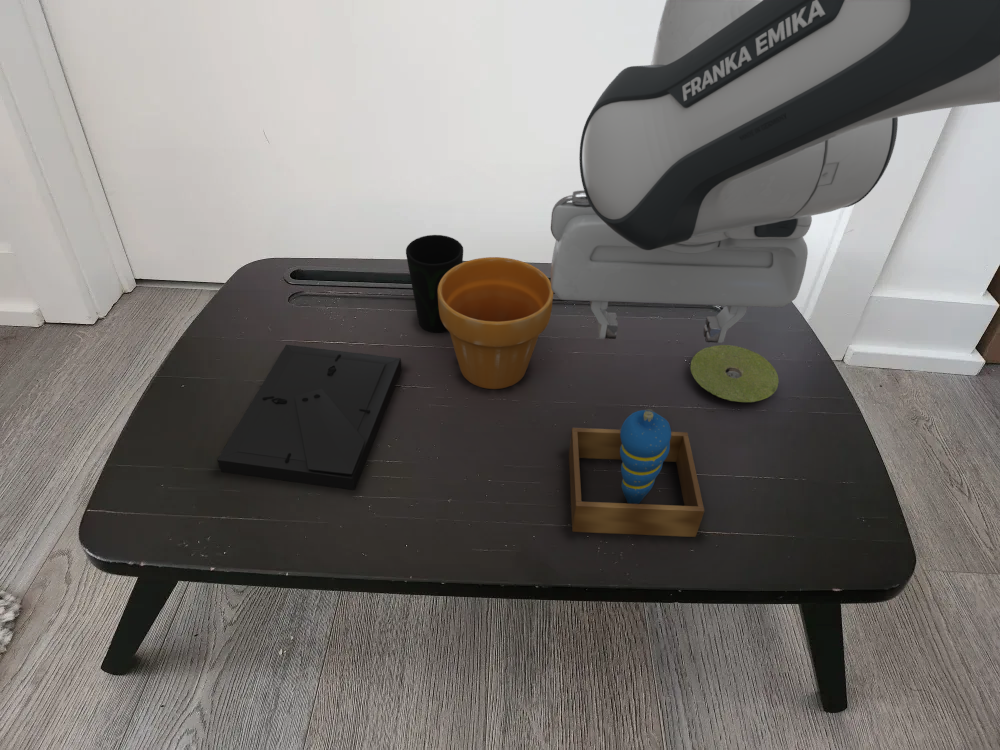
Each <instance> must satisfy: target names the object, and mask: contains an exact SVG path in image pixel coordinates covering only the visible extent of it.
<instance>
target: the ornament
mask: <svg viewBox="0 0 1000 750" xmlns="http://www.w3.org/2000/svg"><path fill="white" fill-rule="evenodd" d="M620 430H621V431H620V437H621V442H622V445H621V447H620V456H621V459H622V460H621V461H622V463H621V465H620V473H621V476H622V477H621V478H622V480H621V485H620V486H621V490H622V491H621V492H622V493H623V496H624V497H625V500H626V503H627V504H641V502H642V501H643V500H644V499H645V497H646V496H647V495H648V494H649V493H650V491H651V490H652V489H653V487H654V484H655V482H656V478H657V477H658V475H659V474H660V473H661V471H662V468H663V465H664V464H663V463H664V462H665V461H664V460H665V459H666V457H667V455H668V453H669V449H670V439H671V432H672V429H671V425H670V422H669V421H668V420H667V419H666V418H665V417H663V416H662V415H660V414H658V413H657V412H655V411H653V410H652V409H651V408H647V409H641V410H637V411H635V412H631V414H630V415H628V416H627V417H626V419H625V420H624V421H623V423H622V425H621V428H620Z"/></svg>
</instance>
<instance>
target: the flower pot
mask: <svg viewBox="0 0 1000 750" xmlns="http://www.w3.org/2000/svg"><path fill="white" fill-rule="evenodd" d="M553 301H554V292H553V291H552V289H551V279H549V277H548V276H547V275H546V274H545V273H544V272H543V271H541V270H540V269H539V268H538V267H536V266H535V265H532V264H530V263H527V262H525V261H522V260H518V259H514V258H509V257H500V256H499V257H498V256H497V257H496V256H489V257H479V258H474V259H470V260H467V261H463V262H462V263H461V264H459V265H457V266H455V267H453V268H452V269H450V270H449V271H448V272H447V273H446V274H445V275H444V276H443V277H442V279H441V281H440V283H439V286H438V306H439V314H440V318H441V321H442V323H443V325H444V326H445V327H446V329H447V330H448V331H447V332H449V335H450V338H451V342H452V346H453V349H454V352H455V356H456V359H457V363H458V366H459V369H460V372H461V374H462V376H463V377H464V379H466V381H468V382H469V383H470V384H472V385H474V386H476V387H478V388H482V389H488V390H501V389H506V388H508V387H513V386H514V385H515V384H516V385H517V384H518V383H519V382H520V381H521V380H522V379H523V377H524V376H525V374H526V372H527V369H528V367H529V364H530V361H531V358H532V357H533V353H534V351H535V348H536V344H537V343H538V342H537V341H538V339H539V336H540V335H541V334H542V333H543V332H544V331H545V329H546V328H547V327H548V325H549V323H550V320H551V316H552V310H553Z"/></svg>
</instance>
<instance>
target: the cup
mask: <svg viewBox="0 0 1000 750" xmlns="http://www.w3.org/2000/svg"><path fill="white" fill-rule="evenodd" d="M405 256H406V262H407V266H408V271H409V277H410V284H411V288H412V293H413V299H414V305H415V310H416V315H417V320H418V325H419V326H420V328H421V329H422V330H424V331H426V332H429V333H433V334H440V333H446V332H449V331H448V330H447V329H446V327H445V326H444V325H443V323H442V321H441V318H440V314H439V306H438V286H439V283H440V281H441V279H442V277H443V276H444V275H445V274H446V273H447V272H448V271H449V270H450V269H452V268H453V267H455V266H457V265H459V264H461V263H463V262H464V260H463V259H464V246H463V245H462V243H461V242H460V241H459V240H457V239H456V238H453V237H451V236H448V235H443V234H429V235H423V236H420V237H417V238H415V239H413V240H412V241H410V243H408V245H407V246H406V248H405Z"/></svg>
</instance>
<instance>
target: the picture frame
mask: <svg viewBox="0 0 1000 750" xmlns="http://www.w3.org/2000/svg"><path fill="white" fill-rule="evenodd" d="M402 370H403V368H402V359H401V357H393V356H385V355H377V354H370V353H369V354H368V353H361V352H360V353H359V352H352V351H344V350H335V349H325V348H318V347H310V346H309V347H308V346H300V345H291V344H285V346H284V347H283V349H282V350H281V352H280V354H279V355H278V357H277V359H276V360H275V362H274V364H273V365H272V367H271V369H270V371H269V373H268V374H267V376H266V377H265V379H264V381H263V383H262V384H261V385H260V387H259V389H258V391H257V392H256V394H255V396H254V398H253V399H252V401H251V403H250V404H249V406H248V407H247V409H246V411H245V413H244V414H243V415H242V418H241V419H240V421H239V423H238V425H237V426H236V427H235V429H234V431H233V432H232V434H231V436H230V437H229V439H228V441H227V443H226V444H225V446H224V448H222V449H223V450H222V451H221V453H220V455H219V456H218V457H217V463H218V466H219V470H220V471H221V473H228V474H236V475H243V476H248V477H256V478H264V479H271V480H278V481H284V482H285V481H286V482H292V483H299V484H307V485H314V486H319V487H320V486H321V487H327V488H335V489H336V488H337V489H343V490H349V491H355V490H356V488H357V486H358V483H359V480H360V478H361V476H362V472H363V470H364V468H365V465H366V462H367V459H368V457H369V455H370V452H371V449H372V447H373V444H374V442H375V440H376V437H377V434H378V432H379V429H380V427H381V425H382V422H383V419H384V417H385V414H386V412H387V409H388V406H389V404H390V401H391V399H392V396H393V394H394V391H395V389H396V385H397V383H398V381H399V378H400V375H401V374H402Z"/></svg>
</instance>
